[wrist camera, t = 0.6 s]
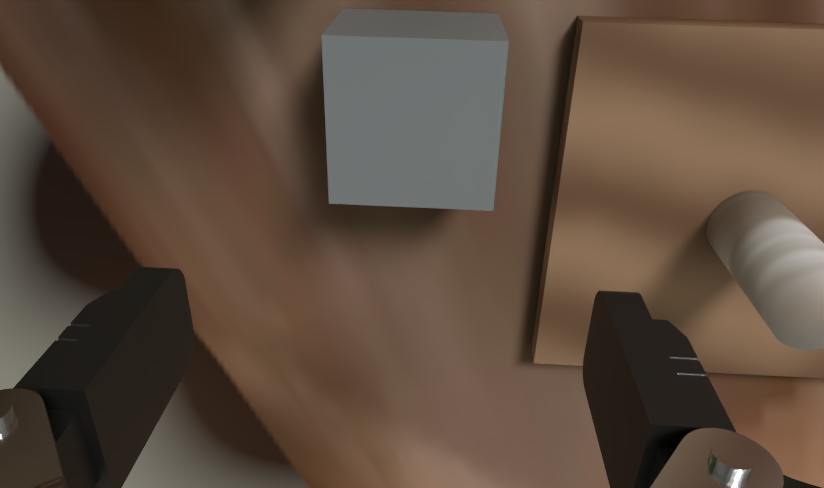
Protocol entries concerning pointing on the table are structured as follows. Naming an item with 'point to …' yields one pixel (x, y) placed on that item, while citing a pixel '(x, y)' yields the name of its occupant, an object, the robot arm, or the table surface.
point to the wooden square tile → (692, 190)
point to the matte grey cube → (413, 107)
